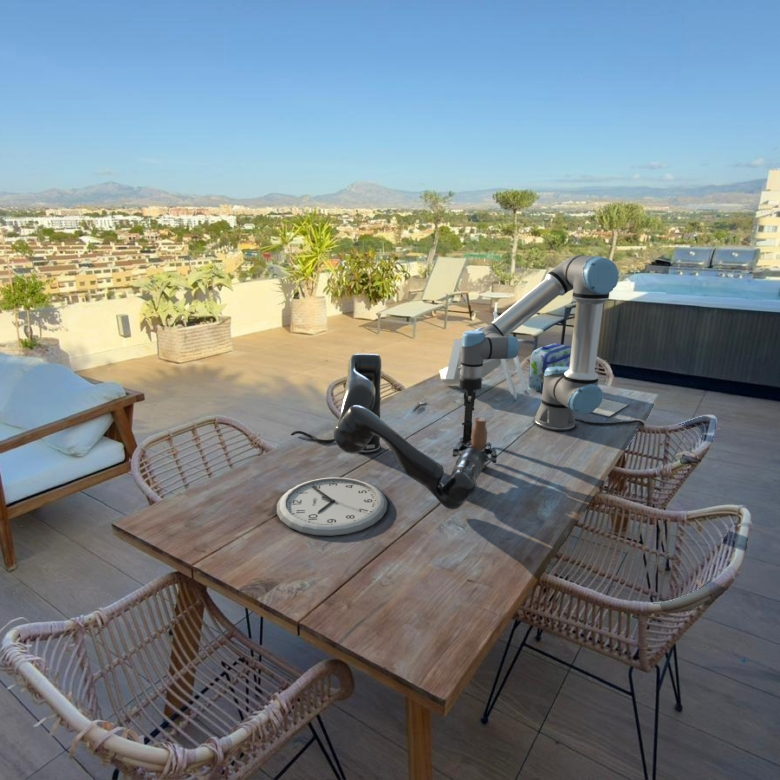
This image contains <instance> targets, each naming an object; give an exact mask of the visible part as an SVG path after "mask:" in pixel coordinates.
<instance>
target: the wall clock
mask: <svg viewBox="0 0 780 780" xmlns="http://www.w3.org/2000/svg"><path fill="white" fill-rule="evenodd" d="M387 509H388V500H387V498H386V496H385V494H384V493H383V492H382V491H381V490H380V489H379V488H377V487H376V486H374V485H372V484H371V483H369V482H365V481H362V480H359V479H355V478H349V477H338V476H337V477H335V476H333V477H332V476H331V477H322V478H317V479H312V480H307V481H305V482H302V483H299V484H297V485H295V486H293V487H292V488H290V489H288V490H287V491H286V492H285V493H284V494H283V495H281V496H280V498H279V499H278V502H277V503H276V515H277V517H278V518H279V520H280V521H281V522H282V523H283V524H285V525H286V526H287V527H288V528H290V529H293V530H295V531H297V532H299V533H303V534H308V535H312V536H327V537H328V536H329V537H331V536H332V537H333V536H342V535H350V534H352V533H356V532H361V531H363V530H366V529H368V528H369V527H372V526H373V525H375V524H376V523H378V522H379V521H380V520H381V519H382V518H383V517H384V516H385V514H386V512H387Z"/></svg>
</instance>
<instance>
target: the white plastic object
mask: <svg viewBox="0 0 780 780" xmlns="http://www.w3.org/2000/svg"><path fill="white" fill-rule="evenodd" d="M492 315H493V319H494V320H495V319H497V318H498V317H499V316H500V315H499V314H498V312H497V311H496V310H495V311H492ZM461 343H462V338H460V339H458V338H454V340H453V344H452V349H451V353H450V357H449V362H448V366H446V367H444V368H442V369H440V370H439V371H438V372H439V376H440V381H442V383H443V384H444V385H445V386H449V385H459V380H460V377H461V375H460V370H461V369H458V367H460V366H461ZM510 360H513V363H514V366H515V369H516V372H517V376H518V380H519V382H520V385H521V389H522V391H523V393H524V395H525V396H526V397H528V396H531V395H530V390H529V386H528V384H527V381H526V378H525V375H524V371H523V369H522V368H523V367H522V366H521V362H520V359H519V354H518V355H517V356H516V357H515V358H510V359H484V360H483V374H482V377H481V378H482V381H484V378H485V377H486V376H487V375H489V374H490V373H492V372H494V371H495V370H496V369H497V368H499V367H500V366H502V370H503V373H504V376H505V380H506V383H507V386H508V390H509V393H510V394H511V395H512V397H513V398H514V399H515V400H517V392H516V391H517V390H516V388H515V385H514V381H513V378H512V375H511V371H510V369H509V365H508V361H510Z"/></svg>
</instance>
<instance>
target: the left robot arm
mask: <svg viewBox="0 0 780 780" xmlns="http://www.w3.org/2000/svg"><path fill="white" fill-rule="evenodd" d="M349 357H350V358H349V360H348V366H347V377H346V383H345V386H344V390H343V395H342V396H343V397H342V402H341V407H340V415H339V418H338V421H337V423H336V425H335V427H334V429H333V438H331V439H321V438H317V437H316V436H315V435H312V434H310V433H308V432H305V431H302V430H294V431H292V432H291V433H290V436H294V435H297V434H299V435H302V436H306V437H307V438H309V439H313V440H314V441H315V442H317V443H323V444H324V443H325V444H326V443H328V444H329V443H334V442H335V443H336V445H337V446H338V448H339V449H340V450H342V451H343V452H344V453H347V454H352V455H353V454H358V453H360V454H373V453H376V452H378V451H380V449H381V440H382V441H383V442H385V444H386V445H387V446H388V447H389V449H390V451H391V452H392V455H393V456H394V459H395V461H396V462H397V464H398V466H399V468H400V470H402V472H403V473H404V474H405V475H407V476H408V477H409V478H411V479H412V480H414V481H416V483H419V484H420V485H422V486H423V487H425V488H426V489H427V490H428V491H429V492H430V493H431V494H432V496H434V497H435V498H436V500H437V501H438V502H439V503H440V504H441V505H442V506H443V507H444V508H447V509H449V510H458V509H459V508H460V507H461V506H462V505H464V504H465V502H466V501H467V500H468V499H469V498H470V497H471V496H473V494H474V493H475V491H476V489H477V488H478V484H477V479H478V478H479V477H480V475H481V473H482V471H483V469H482V468H483V466H484V464H485V465H486V463H488V461H490V462H492V463H493V464H496V463H497V458H498V453H497V449H496V448H495V447H492V444H491V442H489V441H488V442H487V444H486V447H485V448H484V447H482V448H481V449H475V448H472V447H471V441H472V440H470V441H468V443H466V445H464V444H463V443H460V442H459V444H457V445H456V446H455V447H453V448H452V457H455V458H456V457H458V458H457V459H456V461H455V464H454V467H453V469H452V471H451V474H450V478H449V479H448V480H447V481H446V482H445V483H442V482H441V480H442V478H443V477H444V474H445V469H444V466H443V465H442V464H441V463H439V462H438V461H436V460H435V459H433V458H432V457H429V455H427V454H426V453H423V452H421V450H419V449H418V448H416V447H415V446H413V445H412V444H411V443H410V442H408V441H407V439H405V438H404V437H403V436H402V435H400V434H399V432H397V431H396V430H395V429H393V427H391V426H390V425H389V424H388V423H386V422H385V421H384V420H383V419H382V418H381V384H382V383H381V382H382V369H383V367H382V366H383V364H382V357H381V356H380V354H379V353H354V354H352V355H351V356H349ZM307 433H308V434H307Z"/></svg>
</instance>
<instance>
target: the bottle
mask: <svg viewBox="0 0 780 780" xmlns="http://www.w3.org/2000/svg"><path fill="white" fill-rule="evenodd" d="M471 438H472V441H471V447H472V448H475V449H481V448H482V447H484V448H485V447H486V444H487V441H488V428H487V419H486V418H485V417H476V418H474V426H473V427H472V432H471ZM485 467H486V463H485V464H484V466H483V468H482V470H484V469H485Z"/></svg>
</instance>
